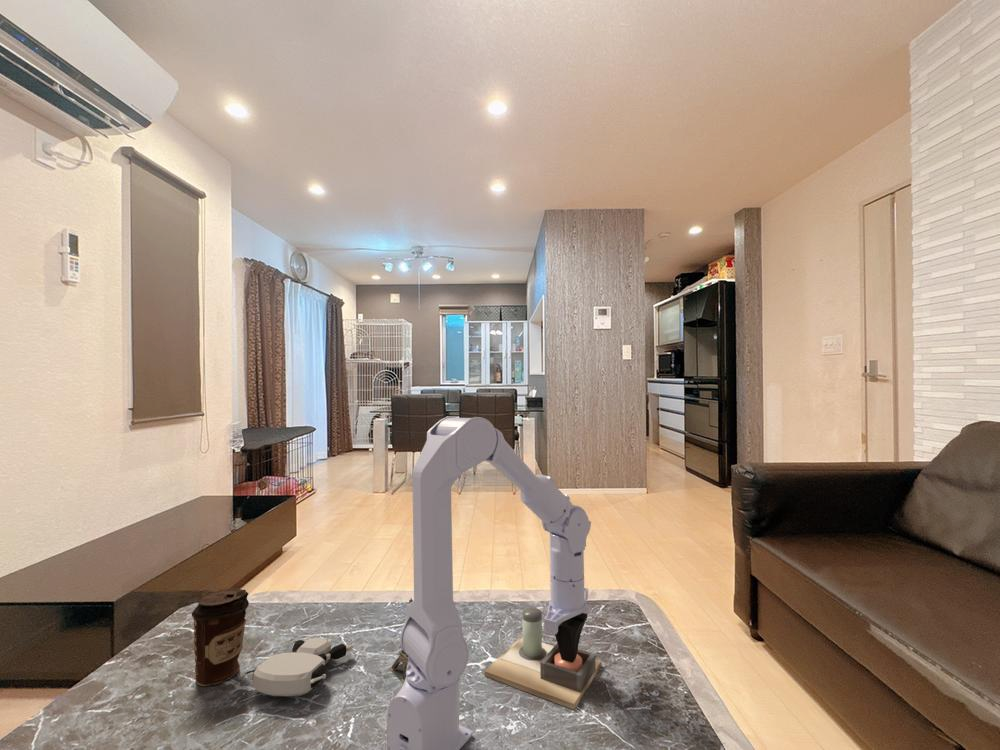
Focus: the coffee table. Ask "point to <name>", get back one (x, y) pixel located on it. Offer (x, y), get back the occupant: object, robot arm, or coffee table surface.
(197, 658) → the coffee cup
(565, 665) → the button
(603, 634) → the coffee table surface
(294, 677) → the robot toy
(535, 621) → the green capped bottle
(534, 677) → the wooden base tray
